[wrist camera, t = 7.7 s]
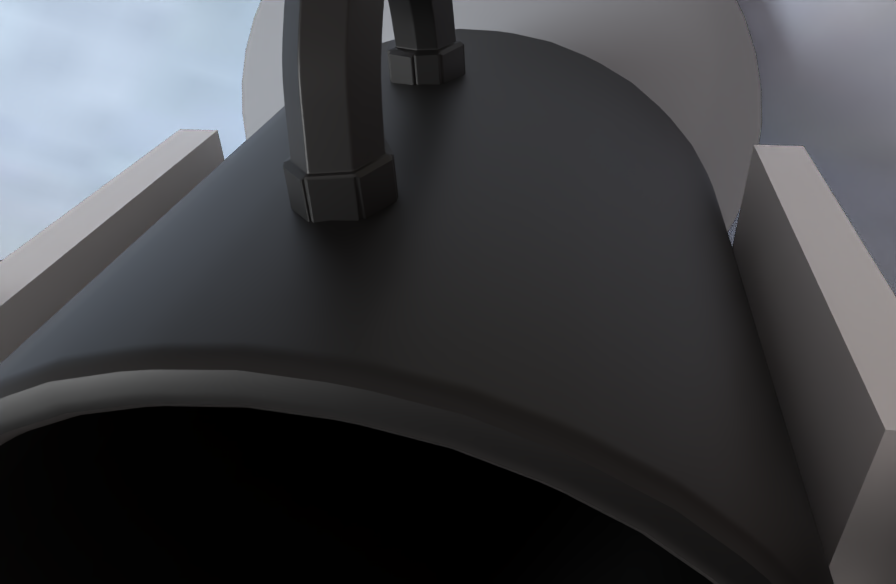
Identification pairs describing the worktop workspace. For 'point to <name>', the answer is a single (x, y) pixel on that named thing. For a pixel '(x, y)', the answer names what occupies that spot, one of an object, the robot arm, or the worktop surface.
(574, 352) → the mug
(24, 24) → the worktop surface
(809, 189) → the robot arm
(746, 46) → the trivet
